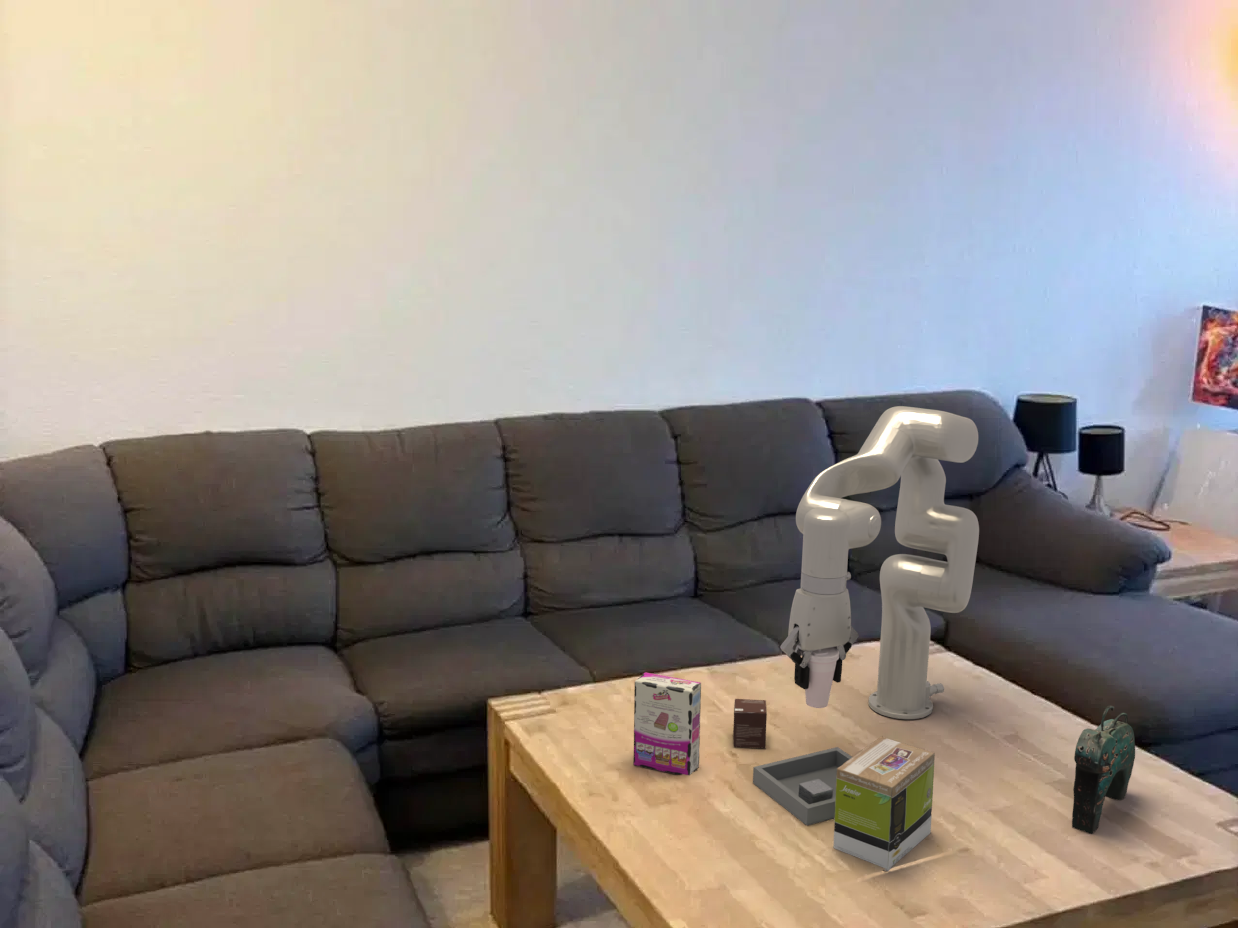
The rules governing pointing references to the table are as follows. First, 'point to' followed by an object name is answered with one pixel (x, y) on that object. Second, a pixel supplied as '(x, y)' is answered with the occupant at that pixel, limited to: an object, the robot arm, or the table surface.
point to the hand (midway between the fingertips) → (817, 682)
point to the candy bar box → (667, 724)
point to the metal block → (815, 791)
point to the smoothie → (821, 676)
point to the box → (749, 723)
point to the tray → (789, 773)
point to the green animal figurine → (1101, 769)
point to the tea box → (883, 801)
